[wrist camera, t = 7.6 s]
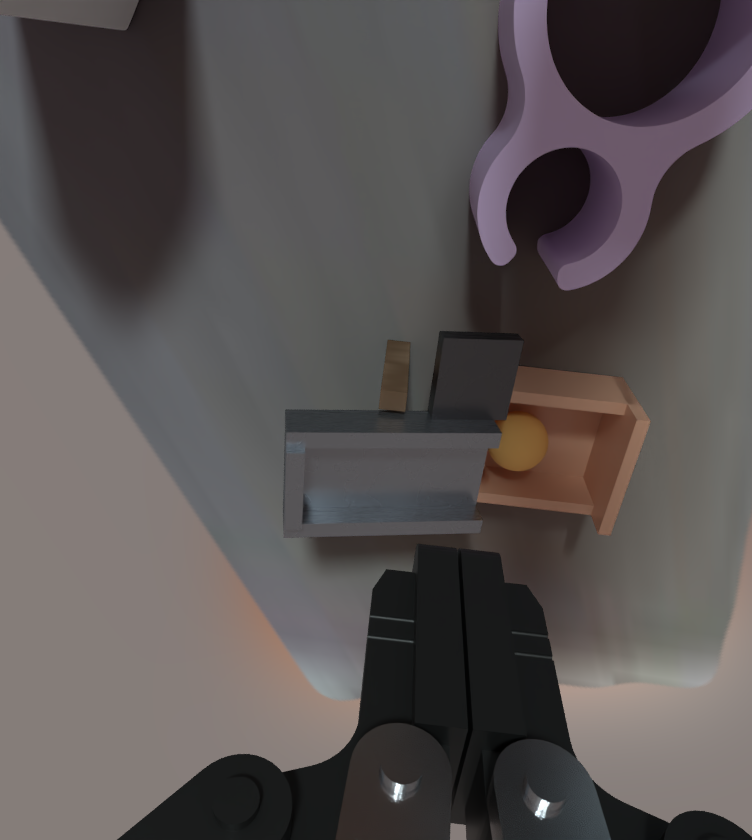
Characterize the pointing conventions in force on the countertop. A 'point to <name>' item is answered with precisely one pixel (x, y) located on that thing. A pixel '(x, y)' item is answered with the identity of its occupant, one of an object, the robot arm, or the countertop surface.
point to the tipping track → (403, 451)
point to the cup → (573, 445)
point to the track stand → (395, 376)
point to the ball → (520, 442)
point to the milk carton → (74, 11)
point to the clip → (600, 140)
